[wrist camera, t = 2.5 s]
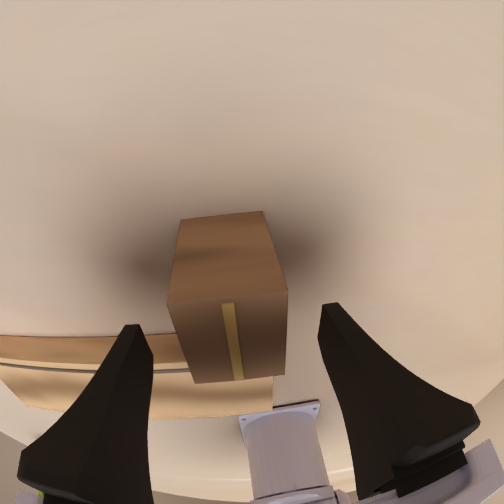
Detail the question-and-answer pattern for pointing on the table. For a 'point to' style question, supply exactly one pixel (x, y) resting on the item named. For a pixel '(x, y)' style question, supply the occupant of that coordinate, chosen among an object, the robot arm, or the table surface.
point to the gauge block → (228, 298)
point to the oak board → (89, 360)
